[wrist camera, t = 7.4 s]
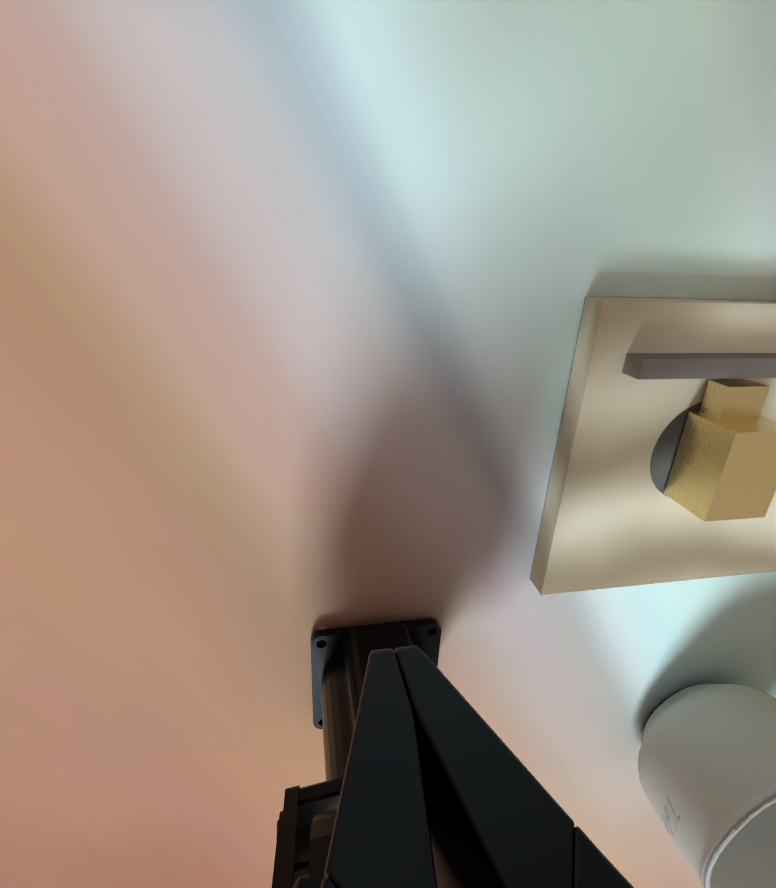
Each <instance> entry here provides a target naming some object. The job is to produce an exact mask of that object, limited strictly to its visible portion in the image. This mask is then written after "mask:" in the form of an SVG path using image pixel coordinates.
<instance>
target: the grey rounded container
mask: <svg viewBox="0 0 776 888" xmlns="http://www.w3.org/2000/svg"><path fill="white" fill-rule="evenodd" d="M638 770H639V777H640V781H641V784H642V787H643V789H644V792H645V794H646V796H647V798H648V800H649V802H650V804H651V805H652V807H653V809H654V810H655V812H656V814H657V816H658V817H659V819H660V820H661V822H662V824H663V825H664V827H665V828H666V830H667V832H668V833H669V835H670V836H671V838H672V839H673V841H674V842H675V844H676V846H677V847H678V849H679V850H680V852H681V853H682V855H683V856H684V858H685V859H686V861H687V862H688V863H689V865H690V866H691V868H692V869H693V871H694V872H695V874H696V875H697V877H698V878H699V880H700V882H701V884H702V887H703V888H776V699H775V698H774V697H772V696H770V695H769V694H767V693H765V692H763V691H761V690H758V689H756V688H753V687H750V686H746V685H740V684H716V683H707V684H698V685H694V686H690V687H687V688H685V689H683V690H681V691H679V692H677V693H675V694H674V695H672V696H671V697H669V698H668V699H666V700H665V701H664V702H663V703H662V704H661V705H660V706H658V707H657V708H656V710H655V711H654V712H653V714H652V715H651V716H650V718H649V719H648V721H647V723H646V725H645V728H644V731H643V735H642V744H641V747H640V751H639V757H638Z"/></svg>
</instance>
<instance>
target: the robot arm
mask: <svg viewBox="0 0 776 888" xmlns="http://www.w3.org/2000/svg"><path fill="white" fill-rule="evenodd" d="M430 628H432V629H430ZM429 629H430V630H429ZM440 637H441V627H440V625H439V622H438V621H437V620H436V619H432V618H430V619H420V620H411V621H402V622H392V623H383V624H373V625H364V626H355V627H345V628H336V629H327V630H319V631H316V632H315V633H313V635H312V636H311V664H312V695H313V724H314V726H315V727H316V728H319V729H323V737H324V754H325V770H326V781H325V782H321V783H317V784H314V785H310V786H306V787H302V788H300V786H295V787H291V788H287V789H286V790H285V798H284V808H283V811H281V812H280V816H279V820H278V821H277V844H276V853H275V863H274V872H273V881H272V888H634V887H633V886H632V885H631V884H630V883H629V882H628V881H627V880H626V879H625V878H624V876H623V875H622V874H621V873H620V872H619V871H618V870H617V869H616V868H615V867H614V866H613V865H612V863H611V862H610V861H609V860H608V859H607V858H606V857H605V856H604V855H603V854H602V853H601V852H600V850H599V849H598V848H597V847H596V846H595V845H594V844H593V843H592V841H591V840H590V839H589V838H588V837H587V836H586V835H585V833H584V832H583V831H582V830H581V829H580V828H579V827H577V826H576V827H574V822H573V820H572V819H571V818H570V817H569V816H568V814H567V813H566V812H565V811H564V810H563V809H562V808H561V807H560V805H559V804H558V803H557V802H556V801H555V800H554V799H553V798H552V796H551V795H550V794H549V793H548V792H547V791H546V790H545V789H544V787H543V786H542V785H541V784H540V783H539V782H538V781H537V780H536V778H535V777H534V776H533V775H532V774H531V773H530V772H529V771H528V769H527V768H526V767H525V766H524V765H523V764H522V763H521V761H520V760H519V759H518V758H517V757H516V756H515V755H514V754H513V752H512V751H511V750H510V749H509V748H508V747H507V746H506V745H505V743H504V742H503V741H502V740H501V739H500V738H499V737H498V736H497V734H496V733H495V732H494V731H493V730H492V729H491V728H490V727H489V725H488V724H487V723H486V722H485V721H484V720H483V719H482V718H481V716H480V715H479V714H478V713H477V712H476V711H475V710H474V708H473V707H472V706H471V705H470V704H469V703H468V702H467V701H466V699H465V698H464V697H463V696H462V695H461V694H460V693H459V692H458V690H457V689H456V688H455V687H454V686H453V685H452V684H451V683H450V681H449V680H448V679H447V678H446V677H445V676H444V675H443V674H442V672H441V671H440V670H439V669H438V668H437V664H438V655H439V646H440ZM320 640H324V641H322V642H318V641H320Z"/></svg>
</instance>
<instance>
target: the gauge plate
mask: <svg viewBox="0 0 776 888" xmlns="http://www.w3.org/2000/svg"><path fill="white" fill-rule="evenodd" d="M709 380H752V381H755V382H758V383H762V384H765V385H768V386H771V387H770V389H769V392H768V395H767V398H766V400H765V403H764V406H763V408H762V411H761V414H760V415H761V416H764V417H767V418H769V419H772V420H774V421H776V301H748V300H706V299H664V298H622V297H586V299H585V304H584V309H583V314H582V319H581V324H580V329H579V334H578V339H577V344H576V349H575V355H574V360H573V365H572V370H571V375H570V380H569V385H568V390H567V395H566V400H565V405H564V410H563V415H562V420H561V425H560V430H559V435H558V440H557V445H556V451H555V456H554V461H553V466H552V471H551V476H550V481H549V486H548V491H547V496H546V501H545V506H544V511H543V516H542V521H541V526H540V531H539V536H538V541H537V547H536V552H535V557H534V562H533V567H532V572H531V577H530V580H531V581H532V582H533V584H534V585H535V587H536V588H537V590H538V591H539V593H540V594H541V595H545V594H554V593H564V592H574V591H584V590H594V589H604V588H613V587H623V586H633V585H643V584H653V583H663V582H672V581H682V580H692V579H702V578H712V577H721V576H731V575H741V574H751V573H761V572H771V571H776V491H775V494H774V496H773V499H772V501H771V503H770V506H769V508H768V511H767V513H766V515H765V517H760V518H747V519H734V520H721V521H708V522H704V521H703V520H701V519H700V518H698V517H697V516H696V515H694V514H693V513H691V512H690V511H688V510H687V509H685V508H684V507H683V506H681V505H680V504H678V503H677V502H675V501H674V500H672V499H671V498H670V497H668V496H667V495H665V494H664V491H665V488H666V485H667V482H668V479H669V475H670V472H671V469H672V466H673V462H674V459H675V456H676V453H677V449H678V446H679V443H680V440H681V437H682V433H683V430H684V427H685V424H686V420H687V417H688V414H689V412H699V411H700V407H701V404H702V401H703V398H704V395H705V392H706V389H707V385H708V382H709Z"/></svg>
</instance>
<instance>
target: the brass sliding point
mask: <svg viewBox="0 0 776 888" xmlns="http://www.w3.org/2000/svg"><path fill="white" fill-rule="evenodd" d="M770 387H771V386H768V385H765V384H762V383H758V382H755V381H752V380H709V382H708V385H707V389H706V392H705V395H704V398H703V401H702V404H701V407H700V411H699V412H689V414H688V417H687V420H686V424H685V427H684V430H683V433H682V437H681V440H680V443H679V446H678V449H677V453H676V456H675V459H674V462H673V466H672V469H671V472H670V475H669V479H668V482H667V485H666V488H665V491H664V494H665V495H667V496H668V497H670V498H671V499H672V500H674V501H675V502H677V503H678V504H680V505H681V506H683V507H684V508H685V509H687V510H688V511H690V512H691V513H693V514H694V515H696V516H697V517H698V518H700V519H701V520H703V521H704V522H708V521H721V520H734V519H747V518H760V517H765V515H766V513H767V511H768V508H769V506H770V503H771V501H772V499H773V496H774V494H775V491H776V421H774V420H772V419H769V418H767V417H764V416H761V415H760V414H761V411H762V408H763V406H764V403H765V400H766V398H767V395H768V392H769V389H770Z"/></svg>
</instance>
